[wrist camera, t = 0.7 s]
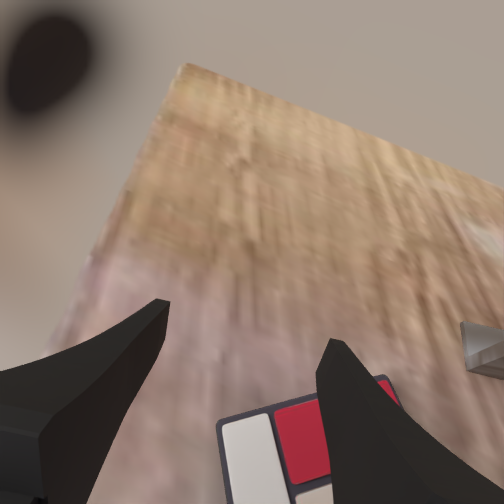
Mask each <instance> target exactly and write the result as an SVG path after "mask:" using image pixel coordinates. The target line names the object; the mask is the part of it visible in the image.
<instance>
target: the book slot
mask: <svg viewBox="0 0 504 504" xmlns="http://www.w3.org/2000/svg"><path fill="white" fill-rule="evenodd" d="M460 326H461V334H462V341H463V348H464V355H465V362H466V370H467V371H470V372H474V373H478V374H482V375H486V376H490V377H494V378H498V379H502V380H504V330H501V329H497V328H492V327H488V326H483V325H479V324H474V323H470V322H466V321H463V322H461V323H460Z"/></svg>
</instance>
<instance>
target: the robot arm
mask: <svg viewBox="0 0 504 504" xmlns="http://www.w3.org/2000/svg"><path fill="white" fill-rule="evenodd" d="M169 308H170V301H165V300H161V299H155V300H153V301H152V302H150V303H149V304H147V305H146V306H144V307H143V308H142V309H140V310H139V311H137V312H136V313H134V314H133V315H131V316H130V317H128V318H126V319H125V320H123V321H122V322H120V323H118V324H117V325H115V326H113V327H112V328H110V329H108V330H106V331H105V332H103V333H101V334H99V335H97V336H95V337H93V338H91V339H89V340H87V341H85V342H83V343H81V344H78V345H76V346H74V347H71V348H69V349H66V350H64V351H61V352H59V353H56V354H54V355H51V356H48V357H46V358H43V359H40V360H37V361H34V362H31V363H28V364H24V365H21V366H18V367H15V368H11V369H7V370H4V371H0V504H86V503H87V501H88V498H89V496H90V494H91V491H92V489H93V487H94V484H95V482H96V479H97V477H98V475H99V472H100V470H101V468H102V465H103V463H104V461H105V459H106V456H107V454H108V452H109V450H110V447H111V445H112V443H113V440H114V438H115V436H116V434H117V432H118V429H119V427H120V425H121V423H122V421H123V419H124V416H125V414H126V413H127V411H128V409H129V407H130V405H131V403H132V401H133V400H134V398H135V396H136V394H137V393H138V391H139V389H140V387H141V386H142V384H143V382H144V381H145V379H146V377H147V375H148V373H149V372H150V370H151V368H152V366H153V365H154V363H155V361H156V359H157V357H158V355H159V352H160V350H161V348H162V345H163V343H164V340H165V336H166V329H167V322H168V315H169ZM316 386H317V397H318V402H319V408H320V413H321V418H322V423H323V428H324V433H325V438H326V443H327V448H328V455H329V461H330V471H331V481H332V492H333V504H504V490H503V489H502V488H500V487H499V486H497V485H496V484H494V483H493V482H491V481H490V480H489V479H487V478H486V477H484V476H483V475H481V474H480V473H478V472H477V471H476V470H474V469H473V468H471V467H470V466H469V465H467V464H466V463H465V462H463V461H462V460H461V459H460V458H458V457H457V456H456V455H454V454H453V453H452V452H450V451H449V450H448V449H447V448H445V447H444V446H443V445H442V444H440V443H439V442H438V441H437V440H436V439H435V438H433V437H432V436H431V435H430V434H429V433H428V432H426V431H425V430H424V429H423V428H422V427H421V426H420V425H419V424H417V423H416V422H415V421H414V420H413V419H412V418H411V417H410V416H409V415H408V414H407V413H406V412H405V411H404V410H403V409H402V408H401V407H400V406H399V405H398V404H397V403H396V402H395V401H394V400H393V399H392V398H391V397H390V396H389V395H388V394H387V392H386V391H385V390H384V389H383V388H382V387H381V386H380V385H379V383H378V382H377V381H376V380H375V379H374V378H373V376H372V375H371V374H370V373H369V372H368V370H367V369H366V368H365V367H364V366H363V364H362V363H361V362H360V361H359V359H358V358H357V357H356V356H355V354H354V353H353V352H352V351H351V349H350V348H349V347H348V346H347V345H346V343H345V342H344V341H341V340H336V339H332V338H330V340H329V342H328V344H327V347H326V349H325V351H324V354H323V356H322V359H321V361H320V363H319V366H318V368H317V370H316Z"/></svg>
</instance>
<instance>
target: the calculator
mask: <svg viewBox="0 0 504 504" xmlns="http://www.w3.org/2000/svg"><path fill="white" fill-rule="evenodd" d="M373 378H374V379H375V380H376V381H377V382H378V383H379V385H380V386H381V387H382V388H383V389H384V390H385V391H386V392H387V394H388V395H389V396H390V397H391V398H392V399H393V400H394V401H395V402H396V403H397V404H398V405H399V406H400V407H401V408H402V409H403V407H402V405H401V403H400V401H399V398H398V396H397V394H396V392H395V390H394V388H393V386H392V384H391V382H390V380H389V378H388V377H387V376H386V375H383V374H382V375H378V376H374V377H373ZM403 410H404V409H403ZM216 433H217V440H218V446H219V453H220V459H221V466H222V473H223V479H224V486H225V493H226V499H227V504H333V492H332V481H331V471H330V461H329V455H328V448H327V443H326V438H325V433H324V428H323V423H322V418H321V413H320V408H319V402H318V397H317V393H313V394H309V395H306V396H302V397H299V398H295V399H291V400H288V401H284V402H281V403H277V404H273V405H270V406H266V407H263V408H259V409H255V410H252V411H248V412H245V413H241V414H238V415H234V416H230V417H227V418H223V419H220V420H219V421H218V422H217V423H216Z"/></svg>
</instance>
